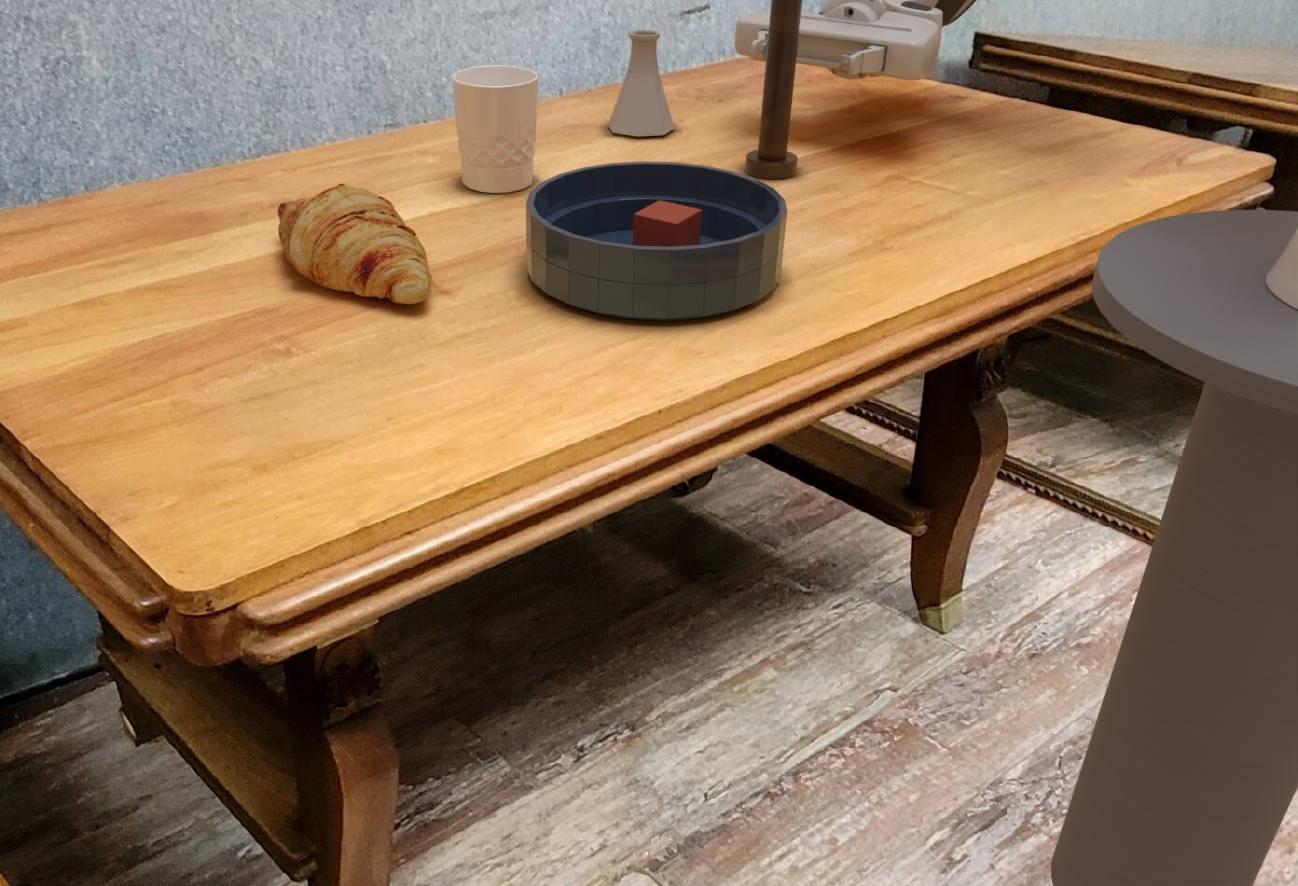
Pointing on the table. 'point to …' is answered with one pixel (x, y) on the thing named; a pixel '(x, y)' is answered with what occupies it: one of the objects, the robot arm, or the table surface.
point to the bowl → (652, 277)
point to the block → (667, 225)
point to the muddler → (777, 95)
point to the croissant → (355, 245)
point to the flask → (642, 91)
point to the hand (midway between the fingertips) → (801, 58)
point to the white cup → (496, 126)
